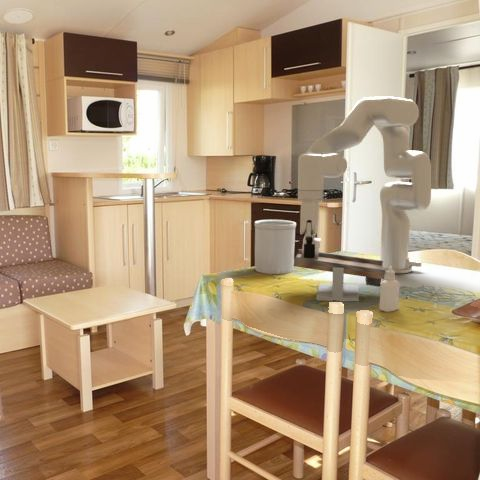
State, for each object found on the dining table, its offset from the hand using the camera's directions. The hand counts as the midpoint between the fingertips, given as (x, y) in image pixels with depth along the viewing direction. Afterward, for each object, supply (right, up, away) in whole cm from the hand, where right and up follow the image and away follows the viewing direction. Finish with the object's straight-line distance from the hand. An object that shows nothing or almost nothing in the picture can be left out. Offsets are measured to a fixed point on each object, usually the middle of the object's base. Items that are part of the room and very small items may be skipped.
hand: (309, 255), depth 176 cm
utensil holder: (-9, -6, +33) cm, 35 cm away
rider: (0, -1, 0) cm, 1 cm away
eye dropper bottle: (+19, -15, -17) cm, 30 cm away
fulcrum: (+8, -12, 0) cm, 14 cm away
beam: (+8, -7, -1) cm, 11 cm away
